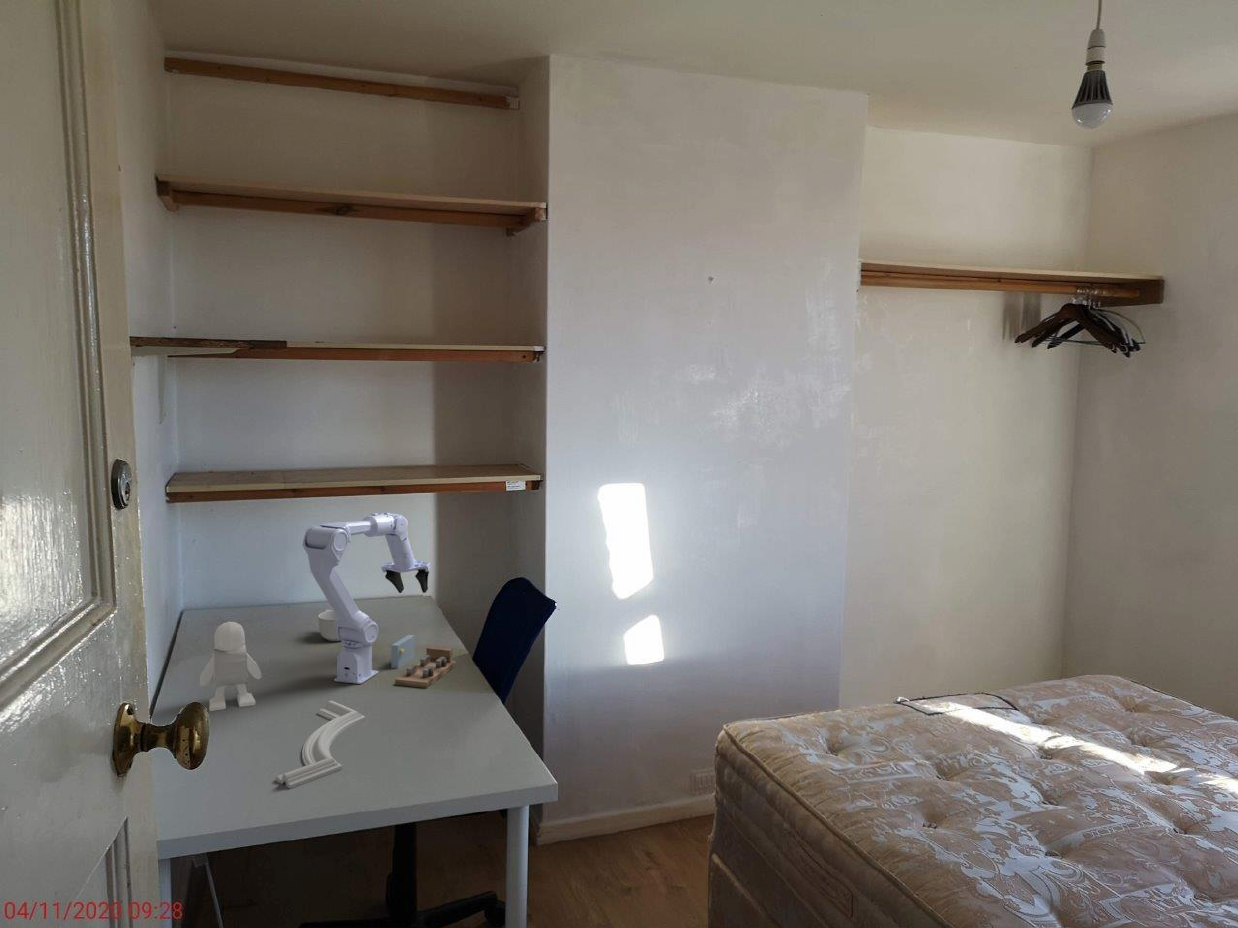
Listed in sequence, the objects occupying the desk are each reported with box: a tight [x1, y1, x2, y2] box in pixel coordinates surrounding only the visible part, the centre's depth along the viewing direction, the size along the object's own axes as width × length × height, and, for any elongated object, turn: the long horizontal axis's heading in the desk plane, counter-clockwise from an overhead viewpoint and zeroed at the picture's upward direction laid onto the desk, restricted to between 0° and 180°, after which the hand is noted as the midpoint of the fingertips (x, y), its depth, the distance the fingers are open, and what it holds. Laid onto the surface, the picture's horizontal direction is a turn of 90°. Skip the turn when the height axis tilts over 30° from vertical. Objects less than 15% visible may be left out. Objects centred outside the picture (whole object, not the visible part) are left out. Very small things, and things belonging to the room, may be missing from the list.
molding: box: [275, 700, 367, 789], centre depth 192 cm, size 42×12×3 cm, turn 6°
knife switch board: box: [394, 646, 457, 689], centre depth 237 cm, size 18×9×5 cm, turn 166°
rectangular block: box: [390, 634, 416, 669], centre depth 247 cm, size 10×3×6 cm, turn 166°
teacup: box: [317, 608, 341, 642], centre depth 270 cm, size 14×11×8 cm
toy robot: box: [198, 621, 262, 712], centre depth 215 cm, size 14×9×20 cm, turn 117°
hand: (413, 590), depth 254 cm, fingers open, 7 cm apart
